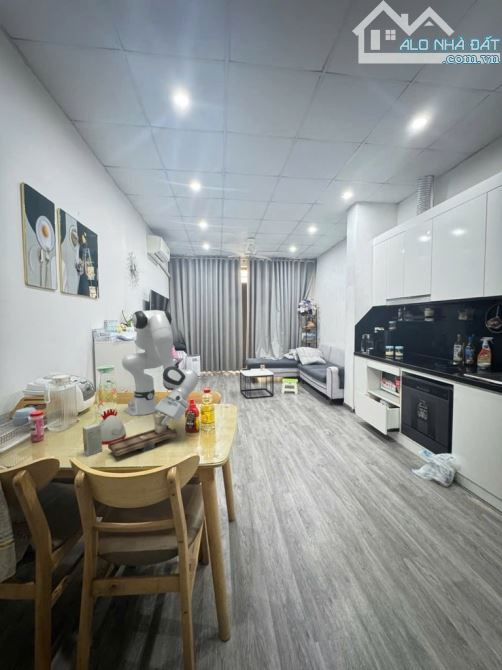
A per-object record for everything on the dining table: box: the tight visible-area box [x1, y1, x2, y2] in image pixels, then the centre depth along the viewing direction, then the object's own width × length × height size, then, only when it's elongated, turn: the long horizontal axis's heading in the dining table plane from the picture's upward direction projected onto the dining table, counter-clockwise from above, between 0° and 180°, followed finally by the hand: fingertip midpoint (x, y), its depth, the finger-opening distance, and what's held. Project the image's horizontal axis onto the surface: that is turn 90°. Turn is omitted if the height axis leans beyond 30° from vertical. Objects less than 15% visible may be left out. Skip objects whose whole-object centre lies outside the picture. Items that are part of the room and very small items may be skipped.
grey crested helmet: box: [98, 408, 127, 446], centre depth 132 cm, size 14×14×15 cm
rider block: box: [154, 413, 167, 434], centre depth 129 cm, size 4×4×8 cm
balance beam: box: [107, 424, 178, 457], centre depth 123 cm, size 28×11×5 cm, turn 135°
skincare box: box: [82, 422, 103, 457], centre depth 118 cm, size 6×4×12 cm
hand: (159, 422), depth 128 cm, fingers closed on rider block, 4 cm apart
